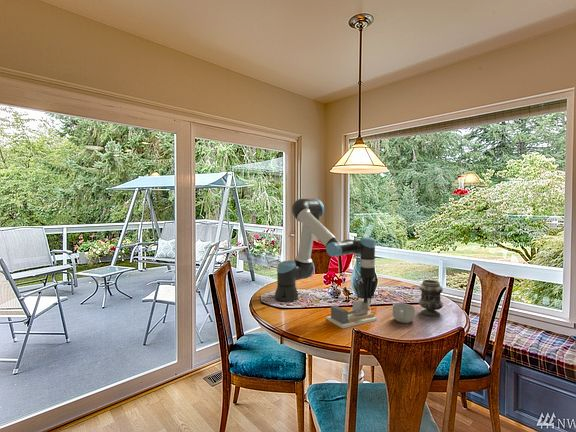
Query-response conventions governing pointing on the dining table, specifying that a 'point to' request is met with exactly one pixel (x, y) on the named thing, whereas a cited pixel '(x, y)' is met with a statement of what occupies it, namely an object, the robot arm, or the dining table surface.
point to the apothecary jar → (430, 297)
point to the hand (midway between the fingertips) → (367, 309)
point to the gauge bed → (348, 317)
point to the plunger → (360, 308)
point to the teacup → (403, 312)
